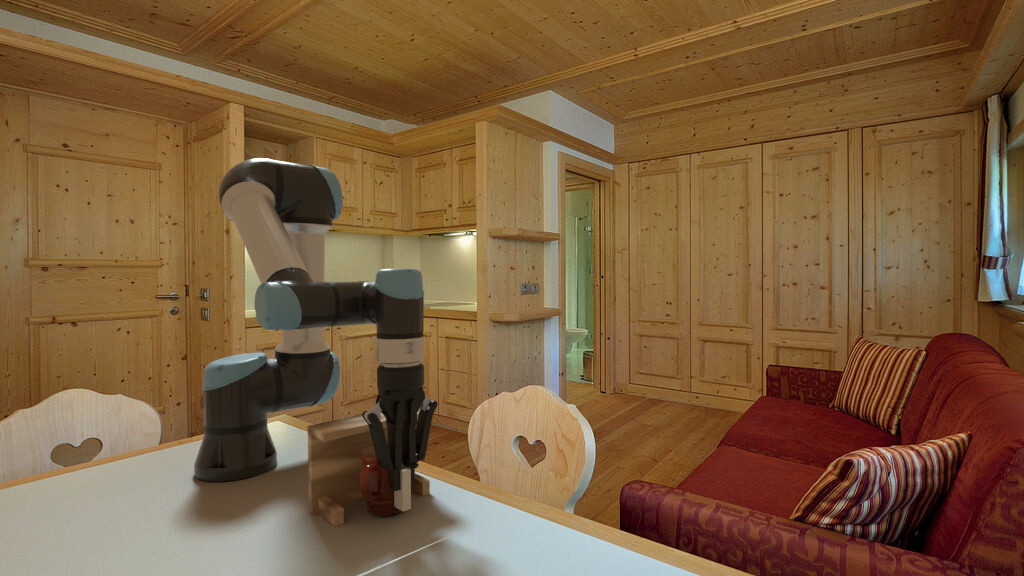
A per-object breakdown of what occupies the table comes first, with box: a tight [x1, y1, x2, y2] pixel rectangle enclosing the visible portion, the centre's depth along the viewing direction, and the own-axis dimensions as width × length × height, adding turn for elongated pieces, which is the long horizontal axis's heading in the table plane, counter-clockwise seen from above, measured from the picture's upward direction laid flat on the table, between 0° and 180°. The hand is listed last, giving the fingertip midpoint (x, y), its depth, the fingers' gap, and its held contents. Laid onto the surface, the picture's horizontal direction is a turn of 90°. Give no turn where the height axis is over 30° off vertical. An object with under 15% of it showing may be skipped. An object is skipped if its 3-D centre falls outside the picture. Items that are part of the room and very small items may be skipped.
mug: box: [359, 442, 404, 517], centre depth 86 cm, size 12×9×10 cm
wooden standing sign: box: [307, 409, 431, 527], centre depth 90 cm, size 8×20×15 cm, turn 133°
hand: (402, 507), depth 83 cm, fingers closed
